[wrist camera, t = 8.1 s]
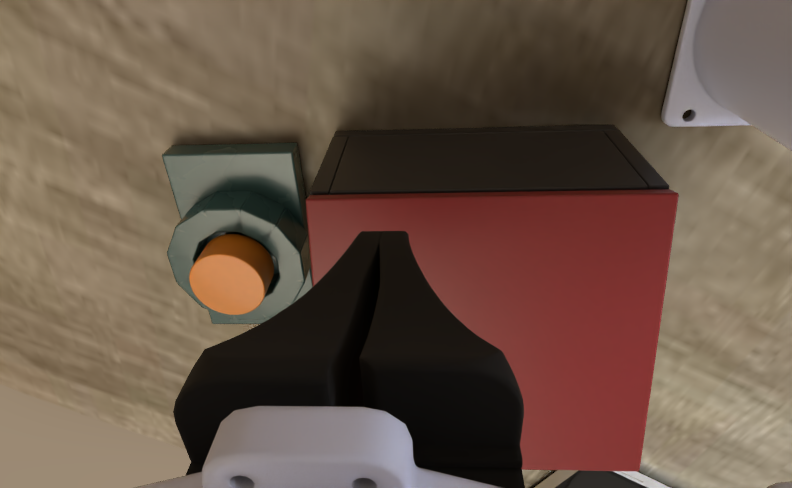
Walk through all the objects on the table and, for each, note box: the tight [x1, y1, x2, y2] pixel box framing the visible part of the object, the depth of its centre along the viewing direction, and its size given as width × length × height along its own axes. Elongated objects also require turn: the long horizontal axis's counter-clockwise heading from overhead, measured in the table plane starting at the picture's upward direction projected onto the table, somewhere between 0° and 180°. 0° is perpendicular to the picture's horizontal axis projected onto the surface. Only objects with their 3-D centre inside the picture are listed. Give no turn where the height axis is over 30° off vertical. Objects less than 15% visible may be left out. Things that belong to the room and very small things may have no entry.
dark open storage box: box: [310, 125, 669, 195], centre depth 23 cm, size 10×12×6 cm
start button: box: [189, 234, 274, 315], centre depth 24 cm, size 3×3×2 cm
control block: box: [162, 143, 313, 324], centre depth 26 cm, size 6×10×3 cm, turn 2°
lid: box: [306, 189, 679, 471], centre depth 19 cm, size 11×12×1 cm
